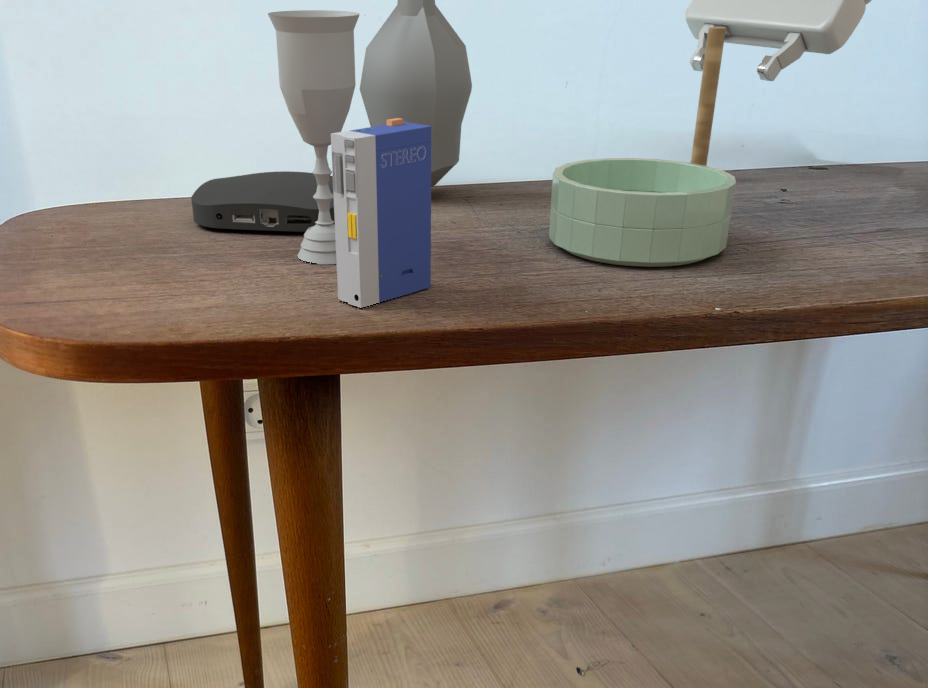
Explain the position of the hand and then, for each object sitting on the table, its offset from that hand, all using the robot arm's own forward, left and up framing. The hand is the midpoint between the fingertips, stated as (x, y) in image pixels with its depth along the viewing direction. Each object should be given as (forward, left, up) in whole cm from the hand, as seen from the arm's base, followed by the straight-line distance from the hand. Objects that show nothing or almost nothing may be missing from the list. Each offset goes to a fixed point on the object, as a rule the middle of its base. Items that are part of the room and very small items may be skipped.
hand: (729, 71), depth 115 cm
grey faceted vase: (+24, +27, -11) cm, 38 cm away
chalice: (+19, +52, -11) cm, 56 cm away
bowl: (-3, +35, -11) cm, 36 cm away
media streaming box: (+31, +42, -11) cm, 53 cm away
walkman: (+9, +59, -11) cm, 60 cm away
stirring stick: (+1, +3, -11) cm, 11 cm away
